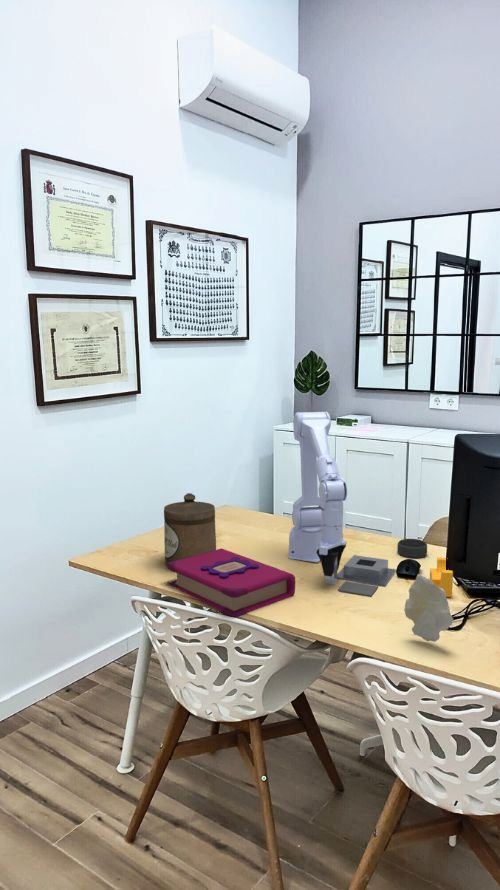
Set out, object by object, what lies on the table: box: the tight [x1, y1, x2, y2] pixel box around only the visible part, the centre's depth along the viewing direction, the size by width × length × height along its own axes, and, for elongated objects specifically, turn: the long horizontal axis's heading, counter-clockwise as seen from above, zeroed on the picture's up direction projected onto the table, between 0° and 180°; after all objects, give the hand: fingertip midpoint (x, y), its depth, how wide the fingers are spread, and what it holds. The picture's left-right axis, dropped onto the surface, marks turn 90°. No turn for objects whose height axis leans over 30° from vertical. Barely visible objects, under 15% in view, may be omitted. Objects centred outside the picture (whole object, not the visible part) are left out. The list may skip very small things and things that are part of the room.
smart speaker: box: [397, 538, 428, 559], centre depth 200 cm, size 9×9×4 cm
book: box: [166, 547, 296, 618], centre depth 170 cm, size 21×28×8 cm
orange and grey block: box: [324, 557, 338, 586], centre depth 176 cm, size 3×3×8 cm
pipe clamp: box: [429, 557, 454, 598], centre depth 173 cm, size 12×4×6 cm, turn 170°
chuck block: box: [337, 554, 397, 587], centre depth 182 cm, size 14×13×4 cm
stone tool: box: [404, 573, 454, 643], centre depth 141 cm, size 11×4×15 cm, turn 51°
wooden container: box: [163, 492, 217, 568], centre depth 186 cm, size 15×15×22 cm
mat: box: [337, 580, 379, 598], centre depth 171 cm, size 9×7×1 cm
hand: (331, 572), depth 176 cm, fingers open, 4 cm apart
